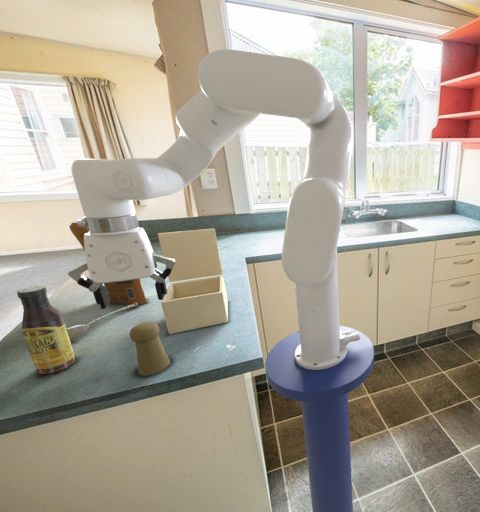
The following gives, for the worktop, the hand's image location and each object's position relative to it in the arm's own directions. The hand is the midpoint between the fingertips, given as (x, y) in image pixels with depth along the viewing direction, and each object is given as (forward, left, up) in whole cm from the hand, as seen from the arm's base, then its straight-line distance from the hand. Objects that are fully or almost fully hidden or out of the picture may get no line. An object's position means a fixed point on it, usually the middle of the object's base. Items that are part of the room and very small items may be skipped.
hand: (134, 301), depth 64 cm
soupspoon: (+18, -30, -17) cm, 39 cm away
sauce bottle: (+20, -10, -17) cm, 28 cm away
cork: (0, 0, -17) cm, 17 cm away
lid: (-8, -29, +1) cm, 30 cm away
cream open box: (-8, -22, -17) cm, 29 cm away
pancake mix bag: (+16, -45, -17) cm, 51 cm away
